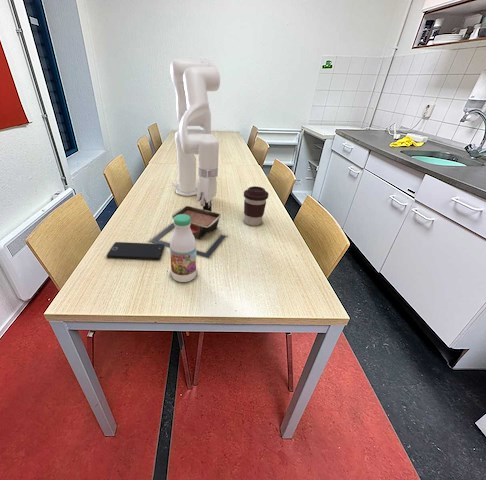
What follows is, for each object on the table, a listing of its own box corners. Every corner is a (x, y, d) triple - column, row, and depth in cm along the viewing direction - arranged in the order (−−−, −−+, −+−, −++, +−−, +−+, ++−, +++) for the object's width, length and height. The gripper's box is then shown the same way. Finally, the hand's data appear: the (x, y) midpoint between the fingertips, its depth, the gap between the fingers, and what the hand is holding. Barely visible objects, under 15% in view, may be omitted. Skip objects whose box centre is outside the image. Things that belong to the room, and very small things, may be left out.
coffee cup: (265, 219, 119) (270, 186, 111) (262, 229, 111) (267, 195, 103) (243, 215, 122) (247, 183, 114) (238, 225, 114) (241, 191, 106)
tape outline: (150, 241, 101) (150, 241, 101) (172, 223, 114) (172, 223, 114) (208, 257, 93) (208, 257, 93) (225, 236, 106) (225, 236, 105)
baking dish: (202, 248, 101) (207, 225, 96) (165, 229, 108) (168, 206, 102) (221, 235, 112) (226, 214, 107) (187, 218, 119) (190, 197, 114)
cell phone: (115, 244, 99) (115, 241, 98) (164, 246, 98) (164, 243, 98) (106, 257, 91) (106, 255, 90) (159, 260, 90) (159, 257, 90)
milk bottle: (171, 267, 87) (168, 211, 77) (195, 267, 88) (195, 211, 78) (171, 283, 81) (167, 223, 70) (196, 282, 81) (197, 223, 71)
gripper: (206, 166, 112) (206, 206, 121) (190, 175, 100) (191, 220, 109) (223, 168, 109) (221, 209, 119) (209, 178, 97) (208, 224, 107)
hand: (207, 214), depth 114 cm, fingers closed
